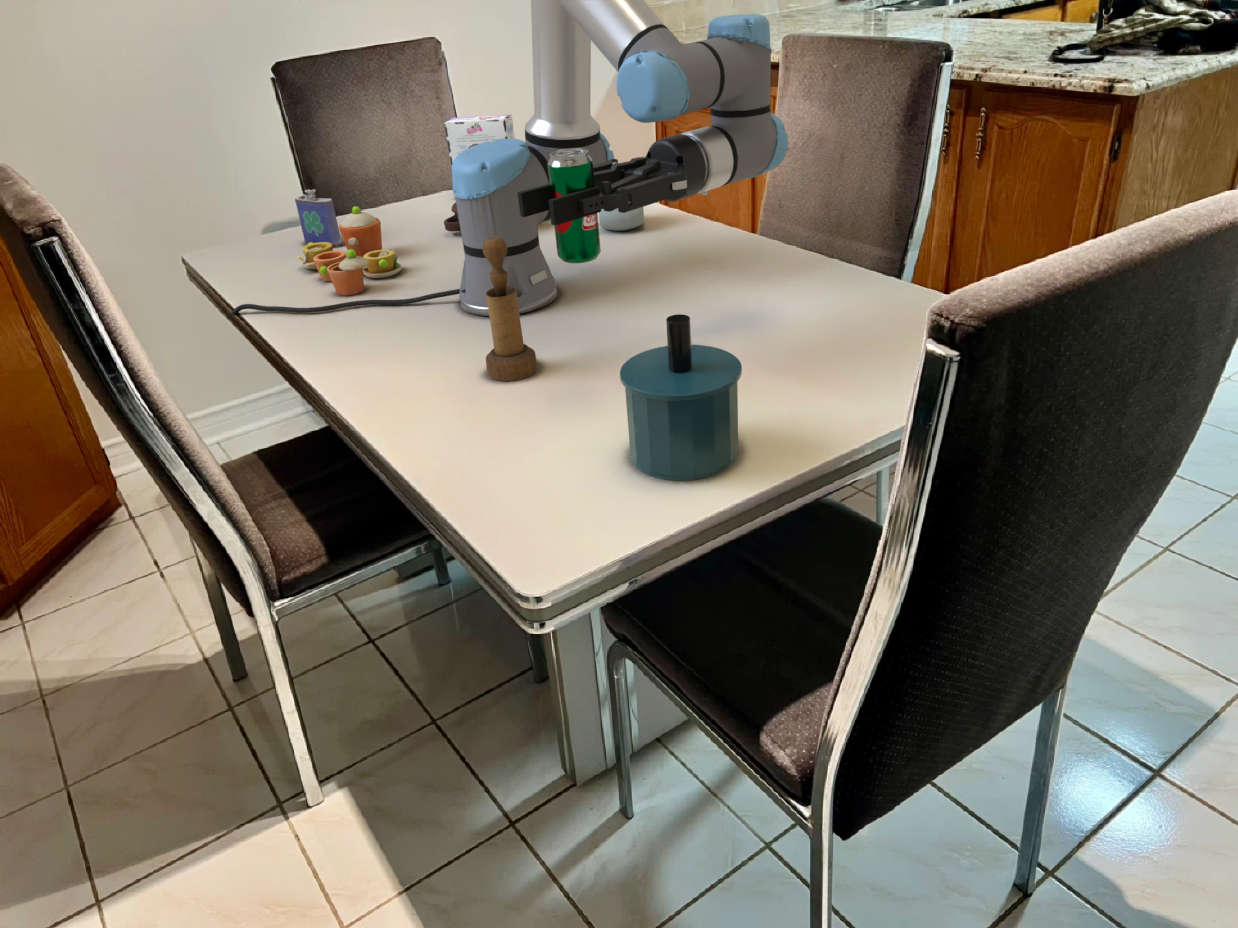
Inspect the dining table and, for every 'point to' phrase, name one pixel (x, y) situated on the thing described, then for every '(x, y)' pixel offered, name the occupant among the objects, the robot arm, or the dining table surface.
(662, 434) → the pot
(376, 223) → the toy tea set
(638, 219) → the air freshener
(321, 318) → the dining table surface
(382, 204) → the dining table surface
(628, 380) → the pot lid
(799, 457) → the dining table surface
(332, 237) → the flask
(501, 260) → the mortar and pestle
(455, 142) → the candy box
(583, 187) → the soda can
